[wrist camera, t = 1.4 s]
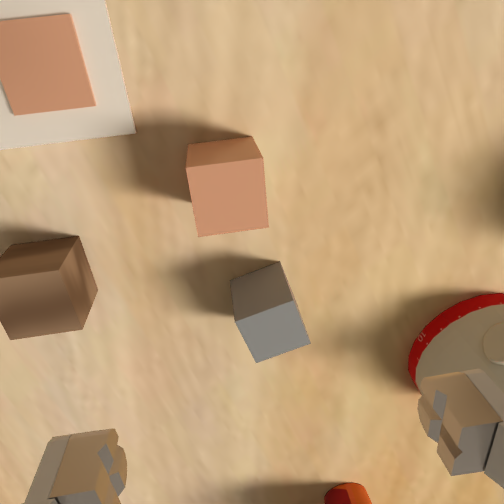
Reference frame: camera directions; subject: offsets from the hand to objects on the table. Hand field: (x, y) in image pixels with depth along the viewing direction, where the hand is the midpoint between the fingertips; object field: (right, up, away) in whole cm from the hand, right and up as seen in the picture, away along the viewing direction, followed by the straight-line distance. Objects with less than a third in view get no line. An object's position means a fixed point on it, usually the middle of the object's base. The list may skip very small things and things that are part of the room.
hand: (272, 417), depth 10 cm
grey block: (+1, +1, +24) cm, 24 cm away
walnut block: (-16, +3, +21) cm, 26 cm away
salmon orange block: (-3, +10, +18) cm, 21 cm away
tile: (-13, +16, +14) cm, 25 cm away
